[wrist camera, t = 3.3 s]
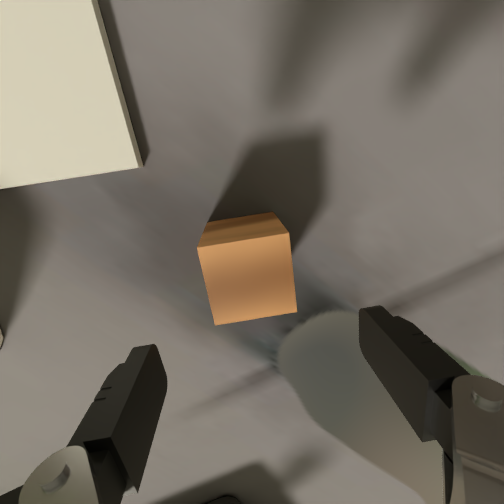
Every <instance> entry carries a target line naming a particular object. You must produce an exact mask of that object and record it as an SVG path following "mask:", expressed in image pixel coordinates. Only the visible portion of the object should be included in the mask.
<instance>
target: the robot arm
mask: <svg viewBox="0 0 504 504" xmlns="http://www.w3.org/2000/svg"><path fill="white" fill-rule="evenodd" d="M359 343H360V348H361V351H362V353H363V355H364V357H365V359H366V360H367V362H368V363H369V365H370V366H371V368H372V369H373V371H374V372H375V374H376V375H377V377H378V378H379V380H380V381H381V382H382V384H383V385H384V387H385V388H386V390H387V391H388V393H389V394H390V395H391V397H392V399H393V400H394V402H395V403H396V404H397V406H398V407H399V409H400V410H401V412H402V413H403V415H404V416H405V418H406V419H407V421H408V422H409V424H410V425H411V426H412V428H413V429H414V431H415V432H416V434H417V435H418V437H419V438H420V440H421V441H422V442H426V441H431V440H437V441H438V443H439V444H440V445H441V447H442V448H443V451H442V476H443V504H504V385H502V384H500V383H498V382H496V381H494V380H491V379H489V378H485V377H482V376H477V375H470V374H469V373H468V372H467V371H466V370H465V369H464V368H463V367H461V366H460V365H459V364H458V363H457V362H456V361H455V360H454V359H452V358H451V357H450V356H449V355H448V354H447V353H446V352H445V351H443V350H442V349H441V348H440V347H439V346H438V345H437V344H436V343H433V342H432V340H431V339H430V338H429V337H428V336H427V335H424V334H423V332H422V331H421V330H420V329H419V328H418V327H416V326H415V325H414V324H413V323H411V322H409V321H407V320H405V319H403V318H401V317H399V316H395V317H393V316H392V315H391V314H390V313H389V312H388V311H387V310H386V309H385V308H384V307H382V306H380V305H379V306H373V307H367V308H362V309H360V310H359ZM166 392H167V376H166V372H165V369H164V366H163V363H162V360H161V357H160V354H159V351H158V349H157V346H156V345H155V344H151V345H145V346H139V347H134V348H133V349H132V350H131V352H130V354H129V356H128V358H127V359H126V361H125V363H122V364H119V365H118V366H117V367H116V368H115V369H114V370H113V371H112V372H111V373H110V374H109V375H108V376H107V378H106V380H105V381H104V383H103V385H102V387H101V388H100V391H99V392H98V394H97V395H96V397H95V399H94V402H92V404H91V406H90V407H89V409H88V411H87V412H86V414H85V416H84V418H83V419H82V421H81V423H80V424H79V426H78V428H77V430H76V431H75V433H74V435H73V436H72V438H71V440H70V442H69V443H68V445H67V447H66V448H63V449H61V450H59V451H57V452H56V453H54V454H52V455H51V456H49V457H48V458H47V459H46V460H44V461H43V462H42V463H41V464H40V465H39V466H38V467H37V468H36V469H35V470H34V471H33V472H32V473H31V475H30V476H29V477H28V479H27V480H26V482H25V484H24V485H22V486H20V487H18V488H16V489H14V490H12V491H10V492H8V493H5V494H3V495H1V496H0V504H120V503H121V500H122V497H123V496H126V495H132V494H137V493H138V491H139V487H140V484H141V480H142V477H143V473H144V469H145V466H146V462H147V459H148V455H149V452H150V448H151V445H152V441H153V438H154V434H155V431H156V427H157V424H158V420H159V417H160V413H161V410H162V406H163V403H164V399H165V396H166Z"/></svg>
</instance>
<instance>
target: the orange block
mask: <svg viewBox="0 0 504 504" xmlns="http://www.w3.org/2000/svg"><path fill="white" fill-rule="evenodd" d="M197 250H198V254H199V258H200V263H201V267H202V271H203V276H204V280H205V284H206V288H207V293H208V297H209V301H210V306H211V310H212V314H213V318H214V323H215V325H220V324H226V323H232V322H238V321H244V320H250V319H256V318H263V317H269V316H275V315H281V314H287V313H293V312H297V307H296V297H295V287H294V277H293V267H292V257H291V247H290V237H289V232H288V231H287V229H286V228H285V227H284V226H283V224H282V223H281V222H280V220H279V219H278V218H277V216H276V215H275V214H274V212H268V213H262V214H255V215H249V216H243V217H237V218H230V219H224V220H218V221H212V222H207V224H206V227H205V229H204V232H203V234H202V237H201V239H200V242H199V244H198V247H197Z"/></svg>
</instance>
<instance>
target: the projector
mask: <svg viewBox="0 0 504 504" xmlns="http://www.w3.org/2000/svg"><path fill="white" fill-rule="evenodd" d="M207 504H241V503H240V502H239V501H238V500H237V499H236V498H234V497H222V498H219V499H217V500H214V501H212V502H209V503H207Z"/></svg>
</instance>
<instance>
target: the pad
mask: <svg viewBox="0 0 504 504" xmlns="http://www.w3.org/2000/svg"><path fill="white" fill-rule="evenodd" d="M140 167H143V163H142V160H141V156H140V152H139V149H138V145H137V142H136V138H135V134H134V131H133V127H132V124H131V120H130V116H129V113H128V109H127V106H126V102H125V98H124V95H123V91H122V88H121V84H120V80H119V77H118V73H117V70H116V66H115V62H114V59H113V55H112V52H111V48H110V44H109V41H108V37H107V33H106V30H105V26H104V23H103V19H102V15H101V12H100V8H99V5H98V1H97V0H0V189H5V188H11V187H18V186H24V185H31V184H37V183H44V182H50V181H56V180H63V179H69V178H76V177H82V176H89V175H95V174H102V173H108V172H114V171H121V170H127V169H134V168H140Z"/></svg>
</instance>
